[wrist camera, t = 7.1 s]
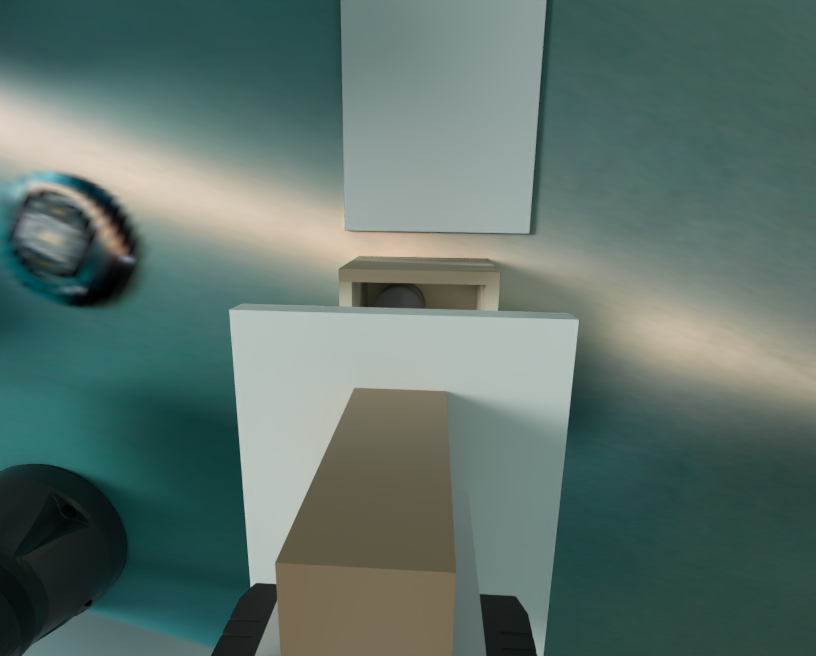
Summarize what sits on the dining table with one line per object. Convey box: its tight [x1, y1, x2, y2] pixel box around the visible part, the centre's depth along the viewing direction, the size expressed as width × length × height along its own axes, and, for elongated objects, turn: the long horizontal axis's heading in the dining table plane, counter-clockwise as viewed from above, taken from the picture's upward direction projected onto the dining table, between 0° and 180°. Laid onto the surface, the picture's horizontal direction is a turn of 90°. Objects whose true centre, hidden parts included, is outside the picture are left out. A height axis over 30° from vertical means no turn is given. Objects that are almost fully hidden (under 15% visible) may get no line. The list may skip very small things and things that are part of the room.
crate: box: [339, 256, 500, 311], centre depth 35 cm, size 12×10×8 cm
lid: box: [229, 304, 579, 656], centre depth 14 cm, size 13×11×10 cm
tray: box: [341, 0, 546, 233], centre depth 35 cm, size 16×14×1 cm
